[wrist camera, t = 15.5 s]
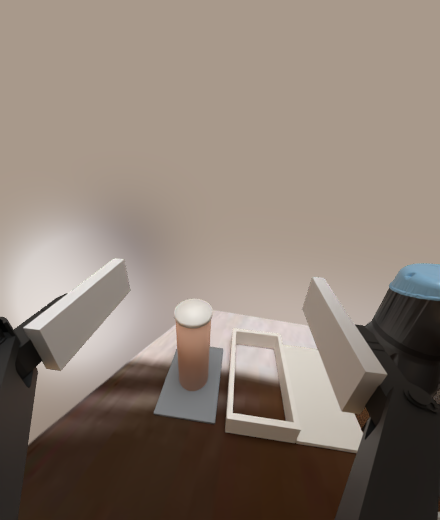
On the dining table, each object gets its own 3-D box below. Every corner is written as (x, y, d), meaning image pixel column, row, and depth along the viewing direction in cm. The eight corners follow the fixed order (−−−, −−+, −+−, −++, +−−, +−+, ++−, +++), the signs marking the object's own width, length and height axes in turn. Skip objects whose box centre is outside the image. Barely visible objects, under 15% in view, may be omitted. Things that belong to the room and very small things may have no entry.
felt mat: (223, 349, 44) (223, 348, 44) (214, 424, 32) (214, 422, 31) (178, 344, 45) (178, 342, 45) (153, 414, 32) (153, 413, 32)
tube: (210, 364, 40) (214, 300, 33) (206, 394, 35) (209, 326, 28) (183, 360, 41) (180, 296, 33) (174, 389, 36) (168, 321, 28)
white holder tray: (325, 352, 45) (330, 340, 43) (369, 455, 29) (380, 442, 27) (231, 340, 46) (232, 328, 45) (224, 432, 31) (226, 418, 29)
